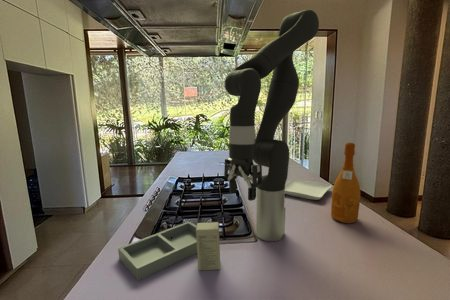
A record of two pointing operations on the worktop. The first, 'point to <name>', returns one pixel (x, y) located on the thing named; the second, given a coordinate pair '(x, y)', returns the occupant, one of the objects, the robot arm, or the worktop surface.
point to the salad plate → (306, 189)
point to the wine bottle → (346, 190)
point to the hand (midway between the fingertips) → (241, 196)
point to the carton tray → (159, 250)
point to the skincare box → (208, 246)
